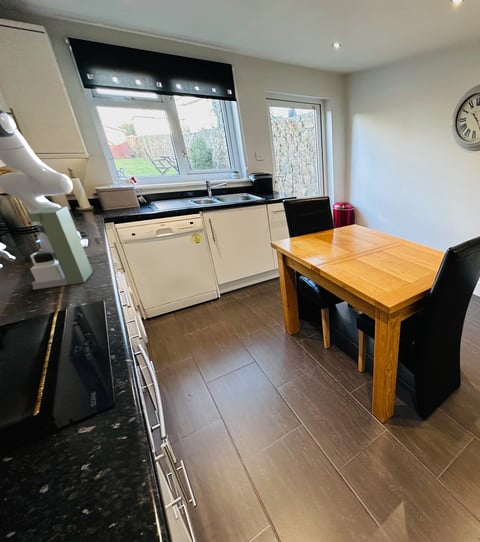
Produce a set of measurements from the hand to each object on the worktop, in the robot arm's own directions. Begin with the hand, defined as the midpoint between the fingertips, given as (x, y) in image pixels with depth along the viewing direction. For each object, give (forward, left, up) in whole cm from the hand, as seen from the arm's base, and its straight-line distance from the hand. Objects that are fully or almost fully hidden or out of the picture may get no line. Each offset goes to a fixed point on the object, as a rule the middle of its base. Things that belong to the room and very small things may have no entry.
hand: (7, 264), depth 107 cm
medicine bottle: (+1, +10, -9) cm, 14 cm away
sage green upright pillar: (+1, +14, -9) cm, 17 cm away
